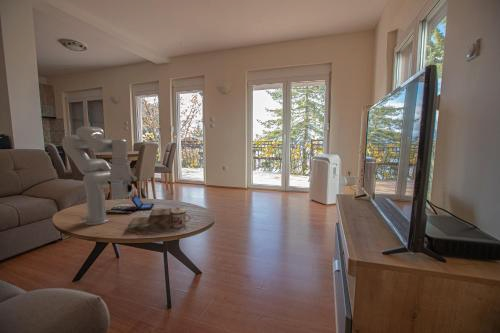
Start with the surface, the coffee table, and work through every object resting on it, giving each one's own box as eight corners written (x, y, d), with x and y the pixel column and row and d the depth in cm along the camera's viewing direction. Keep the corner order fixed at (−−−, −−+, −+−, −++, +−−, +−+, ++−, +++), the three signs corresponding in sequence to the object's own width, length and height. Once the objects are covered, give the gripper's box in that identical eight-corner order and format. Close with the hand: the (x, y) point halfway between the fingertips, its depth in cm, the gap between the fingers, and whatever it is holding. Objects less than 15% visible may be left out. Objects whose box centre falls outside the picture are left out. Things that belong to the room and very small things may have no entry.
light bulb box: (121, 195, 139) (120, 177, 138) (132, 194, 140) (131, 176, 138) (111, 199, 129) (109, 179, 128) (123, 199, 129) (122, 179, 128)
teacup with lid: (168, 227, 140) (167, 208, 139) (174, 222, 149) (174, 204, 148) (187, 228, 139) (187, 209, 137) (193, 223, 148) (192, 205, 146)
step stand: (126, 235, 127) (126, 219, 126) (133, 225, 143) (132, 210, 142) (169, 232, 133) (169, 216, 132) (171, 222, 149) (171, 208, 148)
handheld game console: (151, 210, 174) (150, 198, 173) (131, 211, 171) (130, 199, 170) (154, 204, 189) (153, 193, 188) (136, 205, 186) (135, 194, 185)
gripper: (100, 162, 127) (102, 194, 128) (135, 161, 130) (137, 192, 132) (105, 161, 134) (107, 191, 136) (138, 160, 138) (140, 190, 140)
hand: (122, 191), depth 134 cm, fingers closed on light bulb box, 7 cm apart
